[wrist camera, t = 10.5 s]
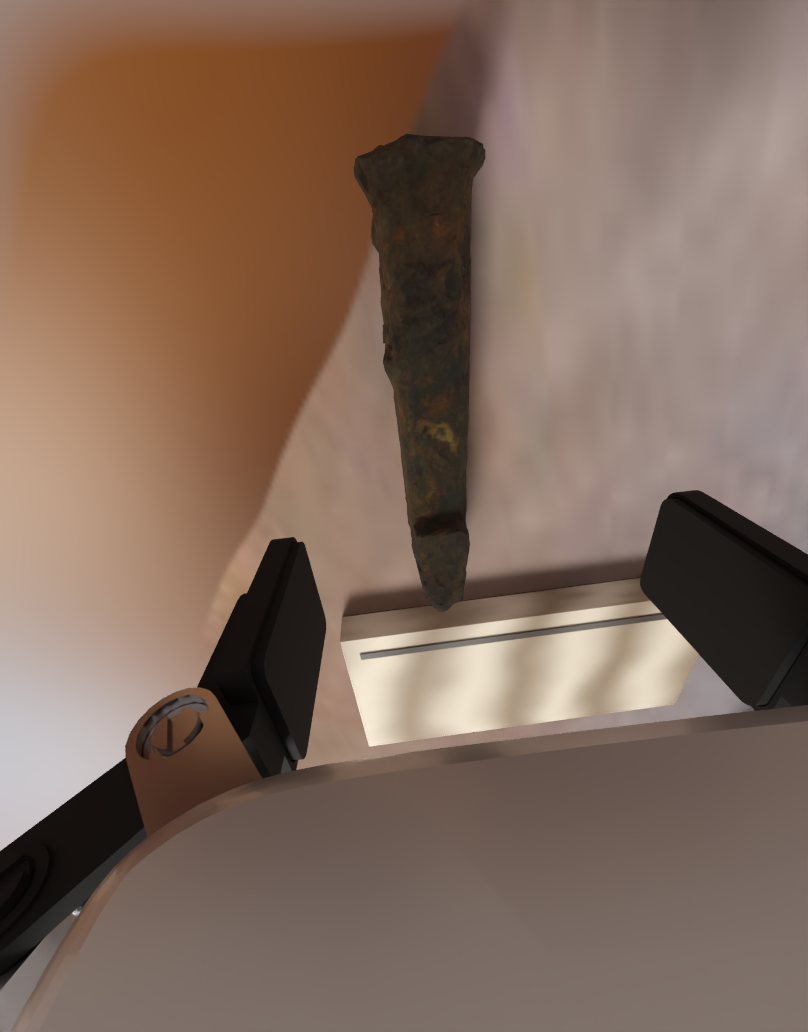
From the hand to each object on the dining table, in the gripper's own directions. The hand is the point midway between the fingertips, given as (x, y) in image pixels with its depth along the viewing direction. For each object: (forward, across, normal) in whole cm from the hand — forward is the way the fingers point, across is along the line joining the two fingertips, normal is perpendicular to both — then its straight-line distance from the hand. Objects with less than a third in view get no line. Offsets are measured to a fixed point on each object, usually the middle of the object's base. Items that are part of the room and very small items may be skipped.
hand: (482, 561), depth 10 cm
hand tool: (+10, 0, -1) cm, 10 cm away
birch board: (+10, -5, +17) cm, 21 cm away
